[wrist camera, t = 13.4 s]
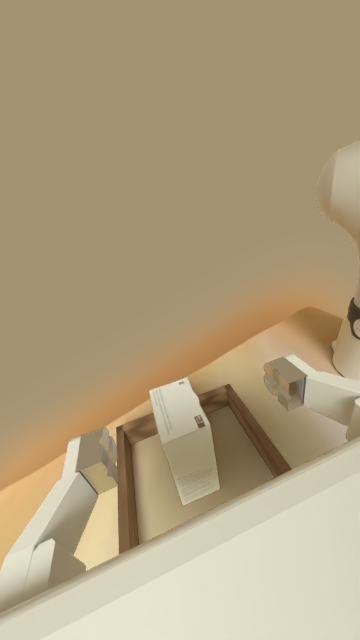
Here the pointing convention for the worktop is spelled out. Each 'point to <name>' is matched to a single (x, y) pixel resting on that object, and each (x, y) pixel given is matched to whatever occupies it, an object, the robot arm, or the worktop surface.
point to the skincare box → (185, 439)
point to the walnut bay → (148, 428)
